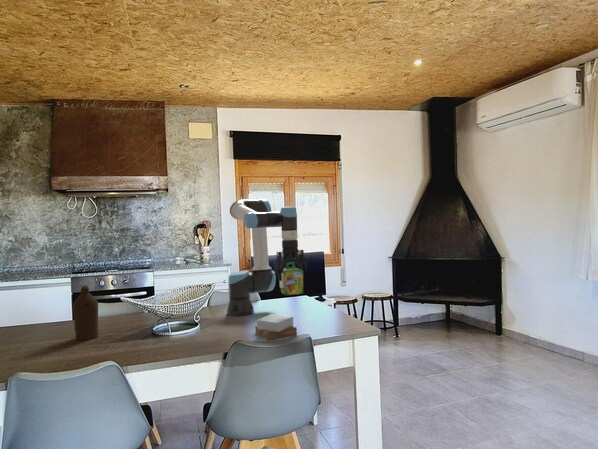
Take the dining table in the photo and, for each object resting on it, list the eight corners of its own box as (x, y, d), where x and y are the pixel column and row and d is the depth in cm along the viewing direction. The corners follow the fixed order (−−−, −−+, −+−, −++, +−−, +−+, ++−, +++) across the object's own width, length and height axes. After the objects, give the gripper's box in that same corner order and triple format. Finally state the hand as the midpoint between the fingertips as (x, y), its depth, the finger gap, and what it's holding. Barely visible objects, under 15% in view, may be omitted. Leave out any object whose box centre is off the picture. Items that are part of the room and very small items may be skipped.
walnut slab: (255, 334, 186) (255, 326, 186) (282, 329, 194) (281, 321, 194) (269, 342, 174) (268, 333, 174) (296, 336, 182) (296, 327, 182)
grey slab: (257, 328, 182) (256, 320, 182) (272, 322, 192) (272, 313, 192) (278, 332, 176) (278, 322, 176) (293, 325, 186) (293, 316, 186)
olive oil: (104, 335, 193) (102, 283, 192) (85, 342, 183) (82, 287, 183) (89, 333, 197) (86, 283, 197) (69, 340, 188) (66, 286, 187)
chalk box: (285, 295, 185) (284, 264, 184) (280, 292, 193) (278, 262, 193) (304, 293, 188) (302, 262, 187) (298, 290, 196) (296, 260, 196)
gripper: (272, 241, 181) (274, 290, 181) (313, 238, 193) (315, 284, 193) (264, 240, 187) (266, 288, 187) (305, 237, 199) (306, 282, 200)
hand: (291, 286), depth 190 cm, fingers closed on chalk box, 10 cm apart
